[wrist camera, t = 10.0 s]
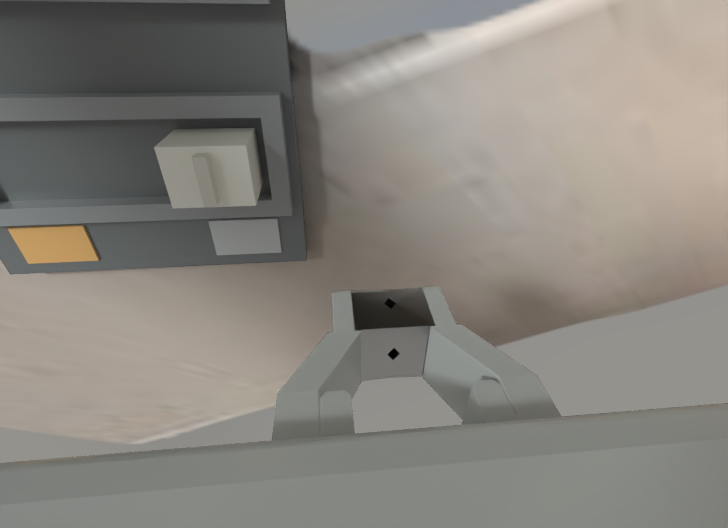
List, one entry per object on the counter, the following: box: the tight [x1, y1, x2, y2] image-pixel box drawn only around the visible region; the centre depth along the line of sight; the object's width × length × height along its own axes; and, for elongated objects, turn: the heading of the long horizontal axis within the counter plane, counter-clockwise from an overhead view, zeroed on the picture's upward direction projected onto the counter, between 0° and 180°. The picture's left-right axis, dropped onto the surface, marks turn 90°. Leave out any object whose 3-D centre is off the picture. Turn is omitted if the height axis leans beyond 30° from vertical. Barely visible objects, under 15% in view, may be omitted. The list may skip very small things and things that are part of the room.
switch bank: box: [0, 0, 307, 274], centre depth 17 cm, size 24×18×2 cm
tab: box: [154, 128, 263, 209], centre depth 19 cm, size 3×4×4 cm
